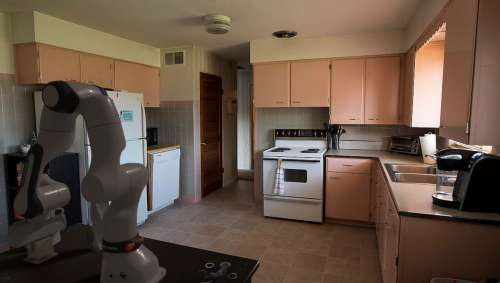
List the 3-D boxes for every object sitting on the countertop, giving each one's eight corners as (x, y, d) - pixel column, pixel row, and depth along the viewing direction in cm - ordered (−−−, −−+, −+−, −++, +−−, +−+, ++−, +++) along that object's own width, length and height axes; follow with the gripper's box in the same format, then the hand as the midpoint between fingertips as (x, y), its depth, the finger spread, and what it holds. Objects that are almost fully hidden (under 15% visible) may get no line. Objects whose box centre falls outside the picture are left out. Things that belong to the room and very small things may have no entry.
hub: (58, 254, 119) (57, 243, 118) (37, 264, 111) (36, 251, 111) (44, 251, 122) (43, 240, 121) (23, 260, 114) (22, 248, 114)
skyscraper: (103, 241, 132) (100, 179, 129) (116, 244, 128) (113, 181, 126) (86, 248, 124) (82, 184, 122) (98, 252, 121) (95, 186, 118)
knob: (53, 252, 118) (52, 235, 117) (38, 259, 112) (37, 242, 112) (43, 249, 120) (42, 233, 119) (27, 256, 114) (26, 239, 114)
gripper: (13, 225, 104) (17, 262, 105) (67, 207, 123) (69, 239, 124) (2, 223, 106) (5, 259, 107) (57, 206, 125) (59, 237, 127)
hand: (40, 248), depth 116 cm, fingers closed on knob, 6 cm apart
